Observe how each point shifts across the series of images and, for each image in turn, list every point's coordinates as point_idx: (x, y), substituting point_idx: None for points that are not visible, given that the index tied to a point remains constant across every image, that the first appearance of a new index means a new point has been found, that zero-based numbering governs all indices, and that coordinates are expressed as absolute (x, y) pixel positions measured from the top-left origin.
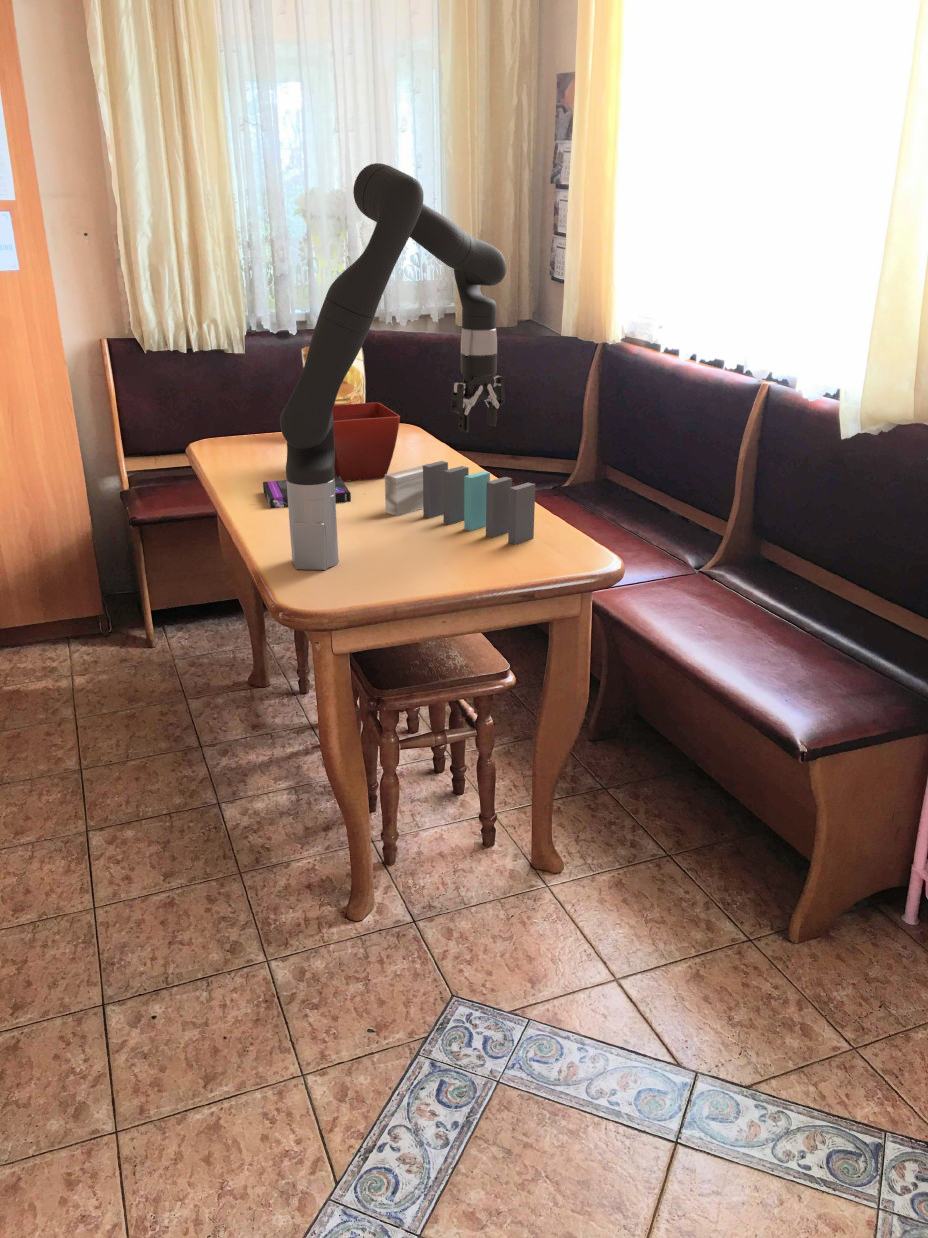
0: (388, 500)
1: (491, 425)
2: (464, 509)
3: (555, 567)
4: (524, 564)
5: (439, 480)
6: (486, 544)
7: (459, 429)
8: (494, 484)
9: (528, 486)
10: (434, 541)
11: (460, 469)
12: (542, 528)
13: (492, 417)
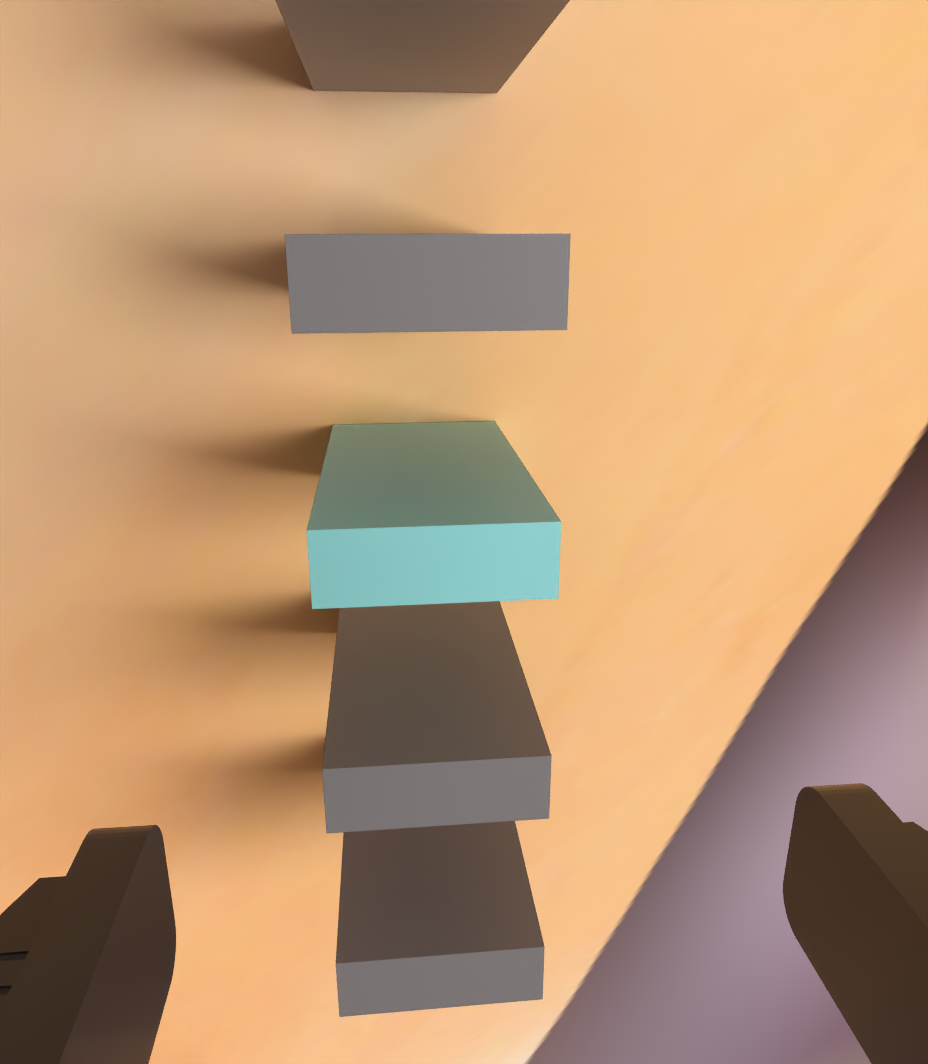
0: None
1: (788, 867)
2: (325, 456)
3: (268, 1036)
4: (191, 952)
5: (429, 30)
6: (244, 682)
7: (90, 833)
8: (337, 828)
9: (466, 1005)
10: (42, 466)
11: (454, 326)
12: (643, 695)
13: (857, 1001)
